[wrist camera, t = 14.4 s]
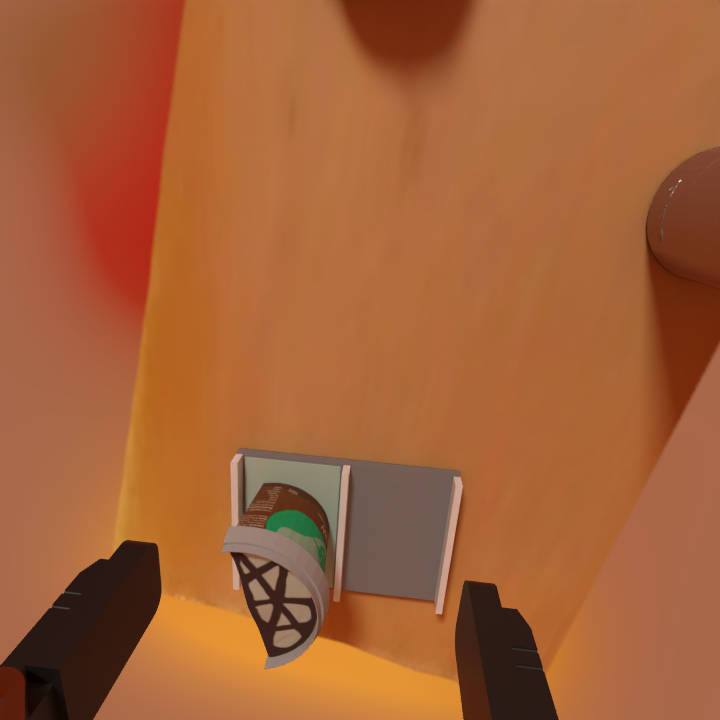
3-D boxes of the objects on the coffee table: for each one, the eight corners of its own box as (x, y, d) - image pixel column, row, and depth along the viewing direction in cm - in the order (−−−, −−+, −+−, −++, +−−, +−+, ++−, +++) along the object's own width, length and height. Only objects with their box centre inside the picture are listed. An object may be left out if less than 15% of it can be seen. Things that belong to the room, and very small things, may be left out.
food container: (354, 570, 46) (343, 667, 36) (293, 577, 47) (266, 674, 37) (324, 459, 42) (302, 534, 33) (258, 469, 43) (218, 545, 34)
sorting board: (459, 470, 43) (462, 486, 40) (439, 593, 47) (441, 614, 45) (239, 448, 44) (230, 462, 41) (241, 570, 48) (233, 589, 46)
